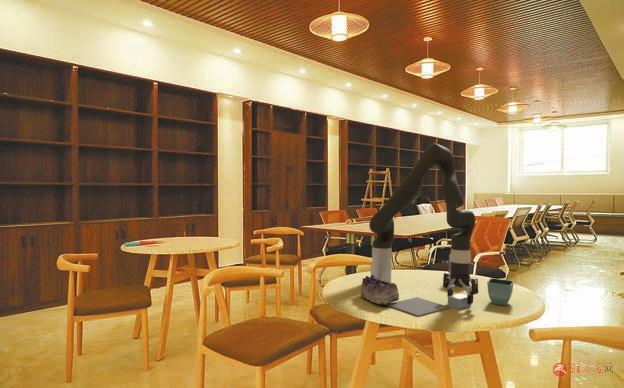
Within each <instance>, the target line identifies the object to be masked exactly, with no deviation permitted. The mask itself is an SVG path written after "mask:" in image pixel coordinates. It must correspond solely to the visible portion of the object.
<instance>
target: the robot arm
mask: <svg viewBox="0 0 624 388" xmlns="http://www.w3.org/2000/svg"><path fill="white" fill-rule="evenodd" d="M432 167H435V168H437V169H439V171H440V172H441V176H442V184H441V193H442V196H443V199H444V202H445V205H446V206H445V210H446V223H447V224H448V226H449V227H451V228H452V229H460V231H459V232H458V233H454V234H452V235H451V238H450V239H451V240H450V254H449V255H450V272H451V274H450V273H449V271H448V272H444V273H443V277H442V278H443V279H442V281H443V282H442V288H445V289H446V290H447V293H446V294H447V295H446V296H447V298H448V296H452V295H454V288H455V287H459V288H462V289H463V290H464V291H465V292H466V293H467V294H466V295H467V304H468V305H471V306H472V304H473V303H474V295H477V294H479V281H478V280H479V279H478V277H477V278H476V277H475V278H472V277H471V266H472V265H471V263H472V262H471V260H472V256H471V239H472V235H473V231H474V229H475V226H476V215H475V214H474V212H473V211H472V210H469V209H462V210H461V209H460V208H461V207H463V206H464V204H465V200H464V197H463V194H462V191H461V189H460V186H459V182H458V179H457V172H456V167H455V162H454V157H453V153H452V151H451V150H450V149H448V147H445V146H444V145H440V144H439V143H432V144H430V145H429V146H428V147H427V148H426V149H425V150H424V151H423V153H422V155H421V156H420V157H419V159H418V161H417V162H416V164H415V165H414V166H413V168H412V169H411V171H410V172H409V173H408V174H407V176H406V177H405V178H404V179H403V180H402V181H401V183H400V184H399V185H398V187H397V188H396V189H395V190H394V192H393V193H392V194H391V196H390V197H389V198H388V199H387V201H386V202H385V204H383V206H382V207H381V208H380V209H379V210H377V212H376V213H375V214H374V215H372V217H371V219H370V220H369V229H370V231H371V232H372V233H374V234H376V237H375V238H374V239H373V241H372V242H371V243H372V250H371V251H372V252H371V253H372V254H371V256H372V257H371V258H372V259H371V261H370V277H371V276H372V275H373V276H374V277H375V278H377V279H378V280H381V281H384V282H389V283H392V262H393V261H392V256H393V254H392V253H393V252H392V248H393V247H392V246H393V243H394V240H395V239H394V237H395V221H394V217H395V216H396V215H398V214H399V213H400V212H401V211H403V210H404V209H406V208H407V207H408V206H410V205H411V204H412V202H414V201H415V199H416V198H417V197H418V196H419V195H420V193H421V191H422V188H423V183H424V182H423V181H424V178H425V175H426V174H427V172H428V171H429V170H430V169H431V168H432ZM450 278H451V280H452V281H451V282H450V283H449V280H450Z"/></svg>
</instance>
